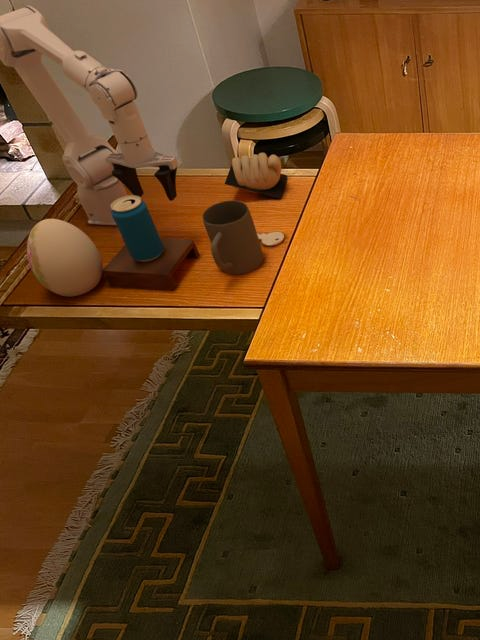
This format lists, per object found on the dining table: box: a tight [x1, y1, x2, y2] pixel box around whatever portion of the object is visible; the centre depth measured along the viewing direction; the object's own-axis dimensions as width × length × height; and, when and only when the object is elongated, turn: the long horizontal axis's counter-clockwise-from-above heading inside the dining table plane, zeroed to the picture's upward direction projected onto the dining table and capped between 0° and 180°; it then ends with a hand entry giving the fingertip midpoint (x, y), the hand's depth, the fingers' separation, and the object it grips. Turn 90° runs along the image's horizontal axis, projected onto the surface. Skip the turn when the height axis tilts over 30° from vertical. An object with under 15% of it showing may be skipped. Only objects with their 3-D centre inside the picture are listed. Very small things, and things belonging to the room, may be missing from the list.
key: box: [257, 231, 285, 247], centre depth 155 cm, size 11×1×5 cm
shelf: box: [102, 237, 200, 291], centre depth 147 cm, size 14×12×4 cm
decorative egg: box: [26, 218, 103, 298], centre depth 141 cm, size 12×12×15 cm
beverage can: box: [111, 194, 164, 262], centre depth 141 cm, size 6×6×12 cm
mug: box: [202, 200, 264, 275], centre depth 143 cm, size 14×9×12 cm
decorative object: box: [224, 152, 288, 200], centre depth 166 cm, size 13×10×10 cm
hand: (156, 197), depth 150 cm, fingers open, 7 cm apart
